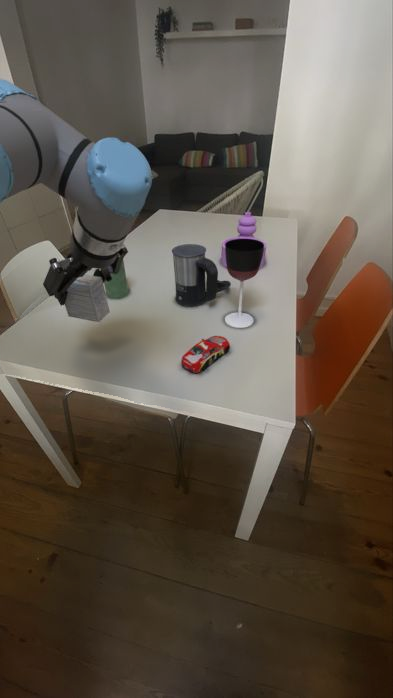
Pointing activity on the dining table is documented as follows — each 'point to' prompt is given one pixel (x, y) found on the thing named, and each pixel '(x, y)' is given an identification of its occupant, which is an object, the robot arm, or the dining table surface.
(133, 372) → the dining table surface
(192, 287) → the milk frother
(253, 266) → the wineglass
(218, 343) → the race car
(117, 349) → the dining table surface
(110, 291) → the green can
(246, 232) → the purple rounded knobbed piece
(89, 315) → the medicine box
